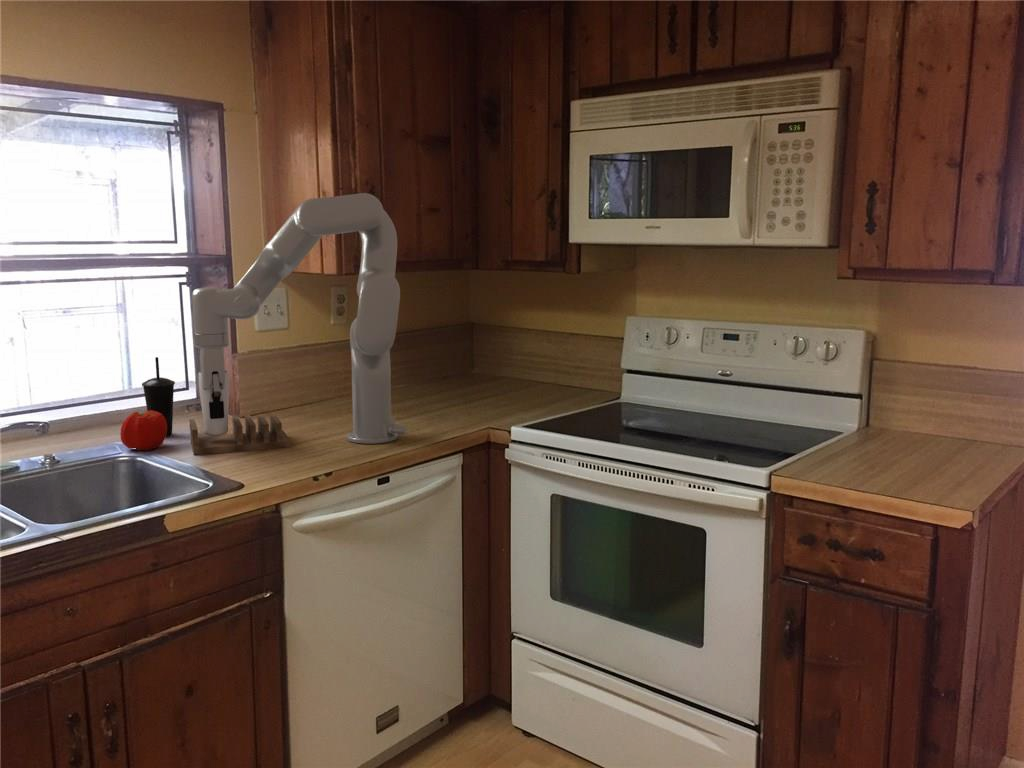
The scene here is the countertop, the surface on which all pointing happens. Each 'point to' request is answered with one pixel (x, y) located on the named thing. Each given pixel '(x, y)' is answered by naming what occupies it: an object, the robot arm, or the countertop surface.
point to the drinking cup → (160, 397)
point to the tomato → (144, 430)
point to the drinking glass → (210, 425)
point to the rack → (242, 436)
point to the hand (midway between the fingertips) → (216, 414)
